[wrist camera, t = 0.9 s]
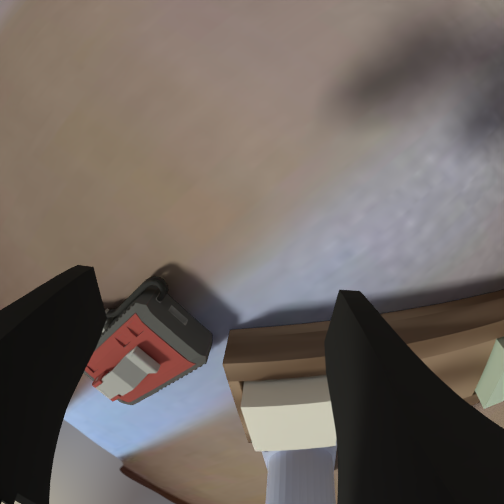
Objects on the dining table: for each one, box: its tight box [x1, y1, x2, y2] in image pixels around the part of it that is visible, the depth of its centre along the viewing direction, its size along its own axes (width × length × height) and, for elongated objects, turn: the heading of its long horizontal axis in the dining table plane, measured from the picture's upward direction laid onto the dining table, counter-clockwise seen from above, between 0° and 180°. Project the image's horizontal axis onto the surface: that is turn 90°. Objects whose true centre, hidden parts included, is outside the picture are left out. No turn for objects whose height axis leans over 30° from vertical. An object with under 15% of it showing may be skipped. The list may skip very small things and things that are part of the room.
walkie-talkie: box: [83, 276, 212, 405], centre depth 22 cm, size 9×4×20 cm
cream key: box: [241, 375, 337, 451], centre depth 19 cm, size 6×6×3 cm
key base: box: [223, 290, 504, 443], centre depth 20 cm, size 10×27×4 cm, turn 99°
